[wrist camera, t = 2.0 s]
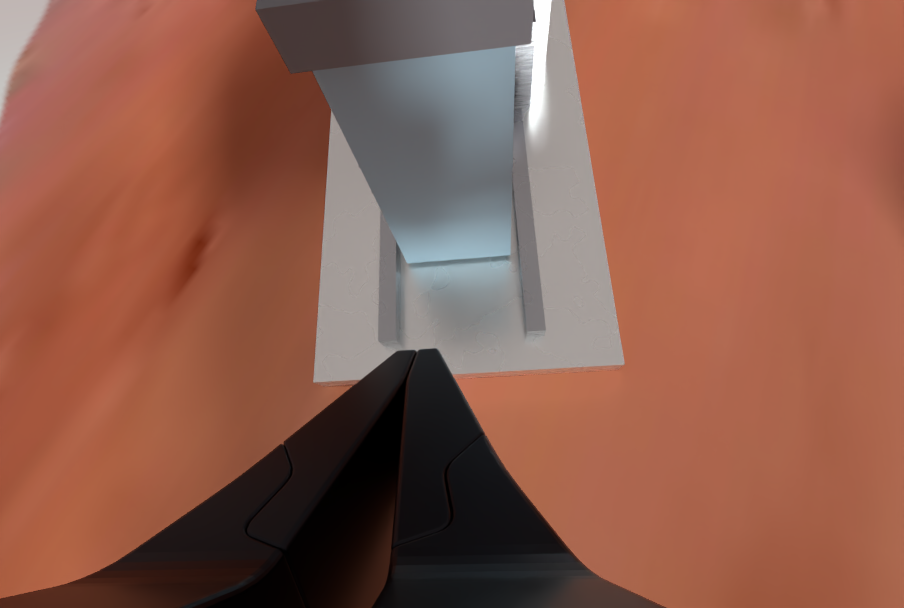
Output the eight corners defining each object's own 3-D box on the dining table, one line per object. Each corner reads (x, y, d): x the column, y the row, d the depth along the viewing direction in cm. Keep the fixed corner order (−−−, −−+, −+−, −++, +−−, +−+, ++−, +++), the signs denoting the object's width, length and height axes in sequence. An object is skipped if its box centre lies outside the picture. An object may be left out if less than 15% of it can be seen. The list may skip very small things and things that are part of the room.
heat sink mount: (618, 369, 21) (675, 323, 14) (323, 386, 22) (239, 351, 15) (557, -5, 29) (574, -153, 22) (344, 24, 30) (295, -108, 23)
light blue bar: (517, 264, 21) (535, -29, 9) (401, 273, 22) (255, 9, 9) (505, 134, 24) (505, -243, 11) (401, 145, 24) (287, -202, 12)
